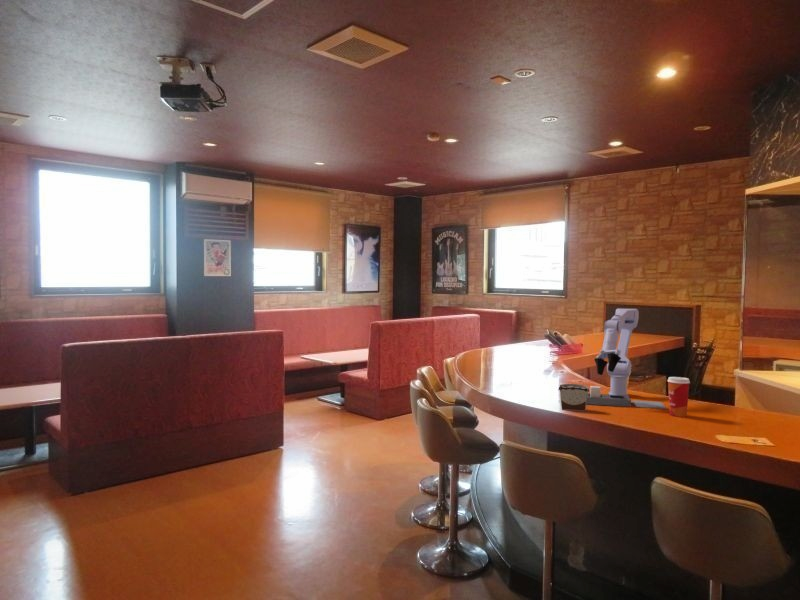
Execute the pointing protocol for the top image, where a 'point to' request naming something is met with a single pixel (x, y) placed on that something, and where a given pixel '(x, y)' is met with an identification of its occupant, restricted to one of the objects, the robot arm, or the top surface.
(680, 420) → the top surface
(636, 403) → the rubber pad
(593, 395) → the ivory plug
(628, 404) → the metal frame
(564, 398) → the food container
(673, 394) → the coffee cup
